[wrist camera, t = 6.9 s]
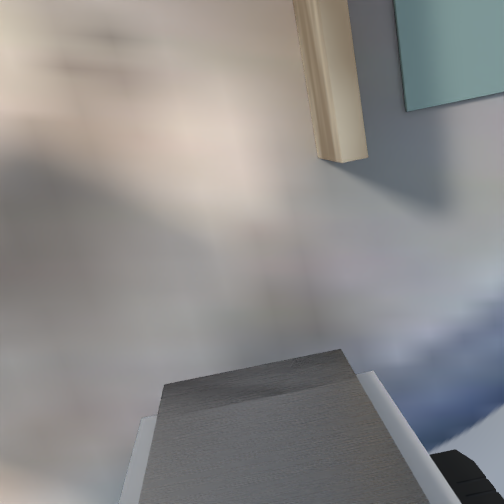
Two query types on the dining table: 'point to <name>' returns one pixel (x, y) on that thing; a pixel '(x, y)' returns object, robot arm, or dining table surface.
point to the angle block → (275, 440)
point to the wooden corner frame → (331, 79)
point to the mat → (449, 50)
